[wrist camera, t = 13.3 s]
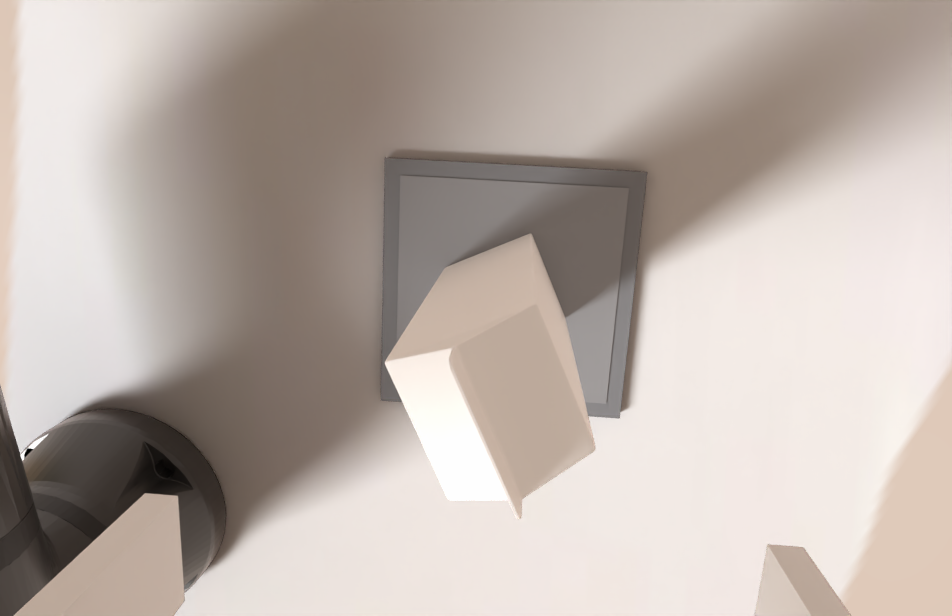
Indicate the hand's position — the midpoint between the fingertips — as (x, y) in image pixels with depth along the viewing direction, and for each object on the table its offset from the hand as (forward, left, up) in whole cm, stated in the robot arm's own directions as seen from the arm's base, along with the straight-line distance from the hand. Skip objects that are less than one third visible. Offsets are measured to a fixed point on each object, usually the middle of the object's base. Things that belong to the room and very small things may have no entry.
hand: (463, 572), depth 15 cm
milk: (0, 0, -29) cm, 29 cm away
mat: (0, 0, -29) cm, 29 cm away
